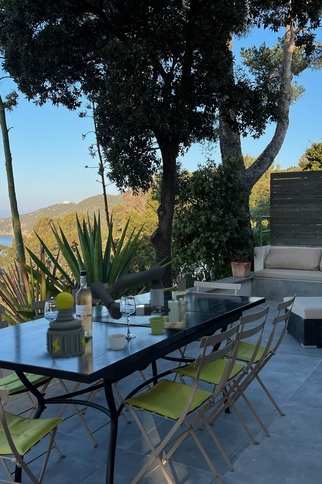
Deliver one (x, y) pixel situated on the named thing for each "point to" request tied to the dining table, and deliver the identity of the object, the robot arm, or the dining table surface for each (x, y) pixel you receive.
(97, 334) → the dining table surface
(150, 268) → the robot arm
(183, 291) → the architectural model
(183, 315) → the beige l-shaped stand
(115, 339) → the candle
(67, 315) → the decorative lamp
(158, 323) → the plant pot
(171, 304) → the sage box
